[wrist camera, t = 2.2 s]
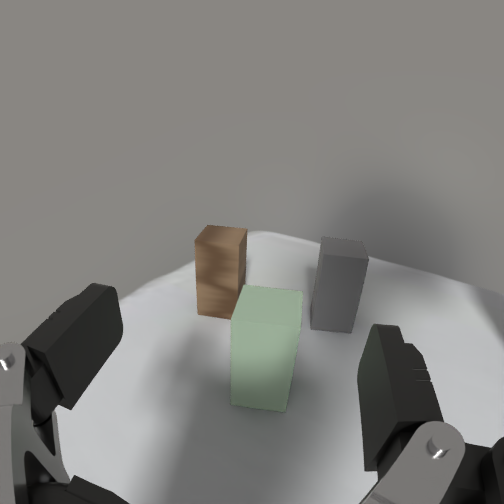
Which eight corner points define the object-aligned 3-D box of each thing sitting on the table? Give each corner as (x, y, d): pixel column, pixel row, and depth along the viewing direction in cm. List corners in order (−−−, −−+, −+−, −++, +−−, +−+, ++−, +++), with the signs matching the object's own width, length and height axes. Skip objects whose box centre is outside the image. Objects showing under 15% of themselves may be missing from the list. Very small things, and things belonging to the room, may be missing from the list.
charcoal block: (347, 310, 42) (362, 241, 38) (350, 333, 37) (368, 259, 33) (311, 306, 42) (321, 236, 38) (310, 329, 38) (323, 254, 34)
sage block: (289, 374, 31) (303, 291, 27) (285, 412, 27) (300, 327, 22) (240, 368, 32) (243, 284, 27) (230, 404, 27) (230, 319, 23)
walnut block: (244, 298, 44) (247, 228, 39) (237, 320, 39) (239, 244, 35) (208, 293, 44) (207, 224, 40) (197, 314, 40) (194, 240, 36)
